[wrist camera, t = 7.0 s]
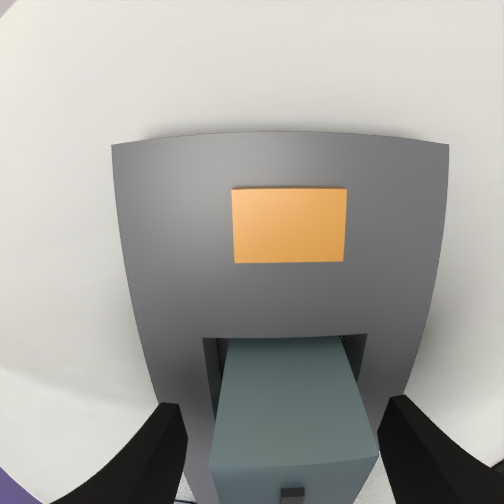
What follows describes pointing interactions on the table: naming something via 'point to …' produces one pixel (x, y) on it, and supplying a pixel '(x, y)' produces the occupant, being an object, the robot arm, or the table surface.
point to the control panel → (277, 257)
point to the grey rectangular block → (290, 424)
